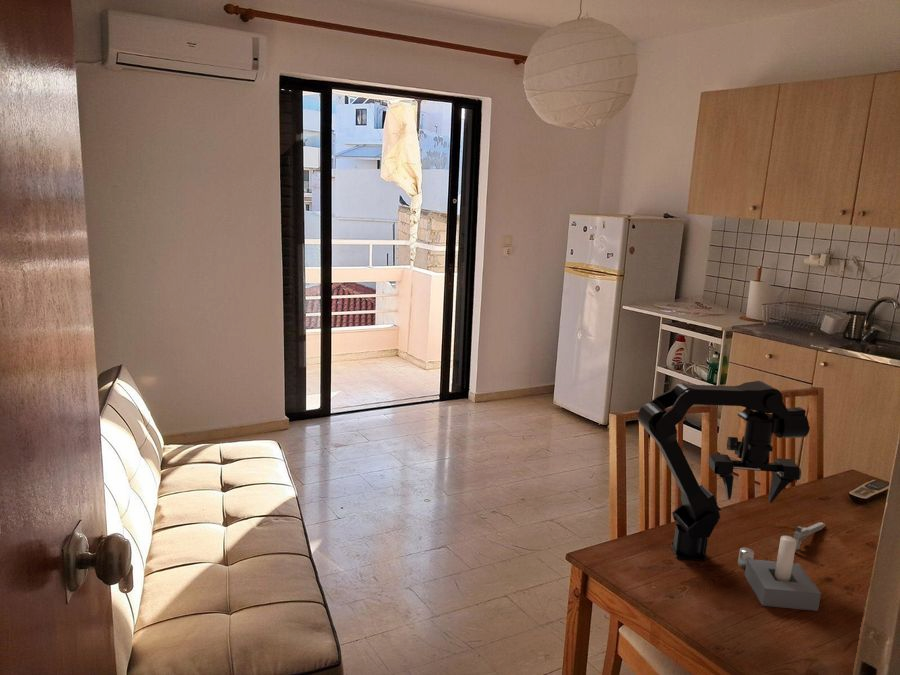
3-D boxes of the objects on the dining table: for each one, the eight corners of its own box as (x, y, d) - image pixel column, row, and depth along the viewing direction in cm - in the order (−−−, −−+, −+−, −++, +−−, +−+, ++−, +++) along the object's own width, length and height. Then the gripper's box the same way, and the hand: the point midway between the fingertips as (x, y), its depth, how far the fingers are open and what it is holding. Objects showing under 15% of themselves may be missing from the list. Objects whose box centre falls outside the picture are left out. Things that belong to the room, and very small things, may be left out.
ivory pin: (770, 592, 142) (779, 539, 139) (773, 586, 144) (782, 534, 141) (785, 598, 140) (795, 544, 137) (788, 591, 142) (797, 538, 139)
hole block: (762, 605, 137) (765, 588, 136) (744, 575, 148) (747, 559, 147) (817, 610, 136) (821, 593, 135) (796, 579, 147) (799, 563, 146)
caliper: (795, 554, 158) (799, 530, 156) (790, 552, 158) (794, 528, 157) (825, 526, 171) (829, 504, 170) (820, 525, 172) (824, 502, 171)
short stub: (740, 567, 151) (742, 553, 150) (736, 560, 153) (738, 546, 153) (753, 569, 150) (756, 555, 150) (749, 561, 153) (751, 548, 152)
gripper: (787, 427, 158) (778, 488, 161) (706, 422, 160) (699, 482, 163) (806, 445, 147) (796, 510, 150) (719, 439, 149) (711, 503, 153)
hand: (749, 500), depth 154 cm, fingers open, 9 cm apart
